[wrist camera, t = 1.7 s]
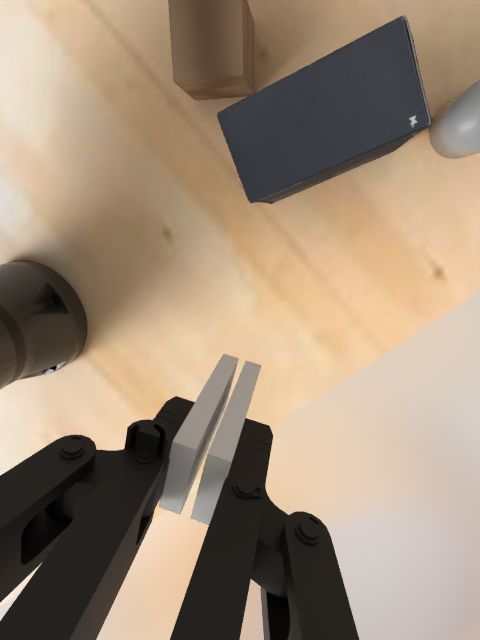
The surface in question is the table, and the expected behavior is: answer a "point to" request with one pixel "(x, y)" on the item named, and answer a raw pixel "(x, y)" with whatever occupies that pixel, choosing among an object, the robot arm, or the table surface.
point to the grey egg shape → (458, 125)
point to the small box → (328, 115)
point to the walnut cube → (212, 47)
